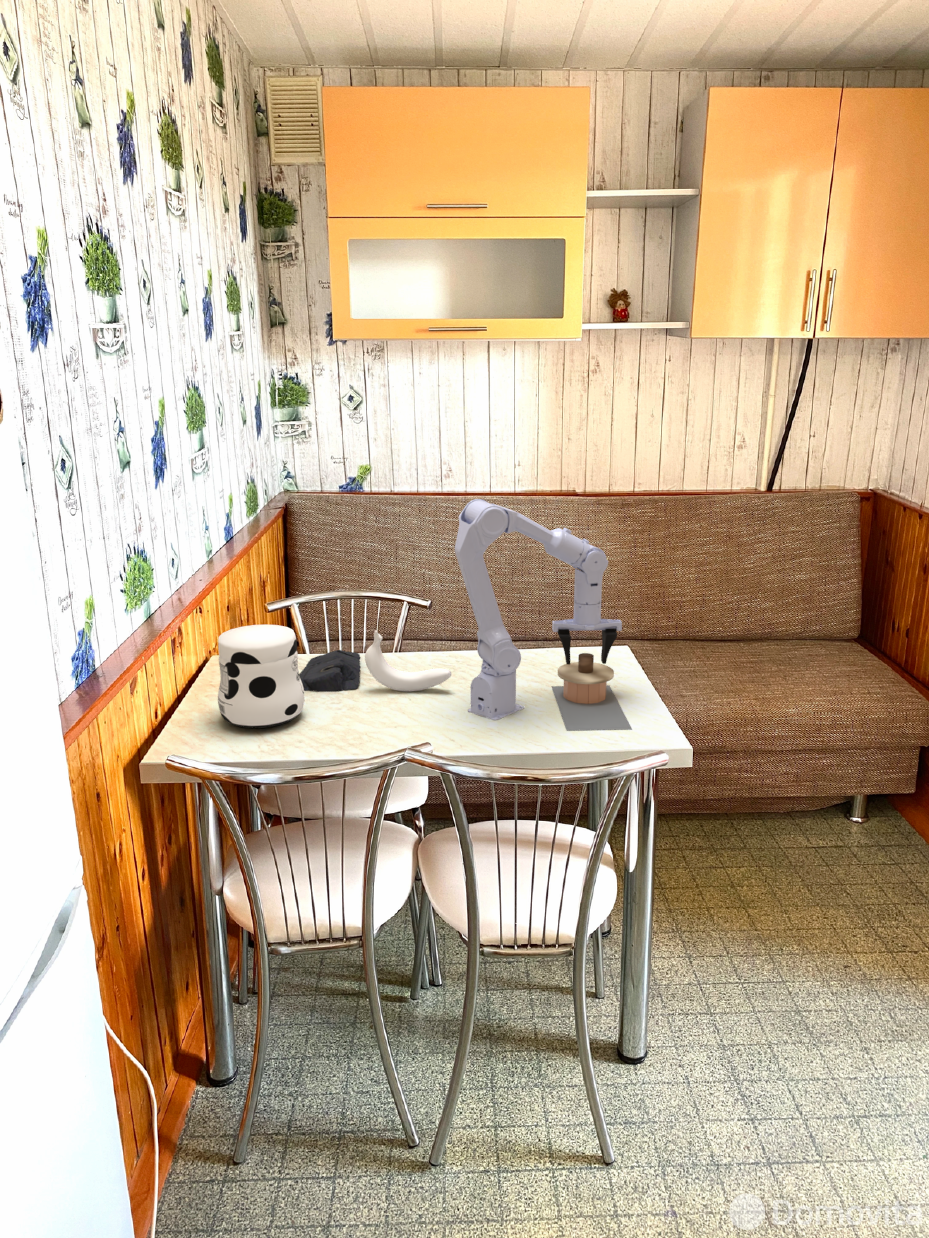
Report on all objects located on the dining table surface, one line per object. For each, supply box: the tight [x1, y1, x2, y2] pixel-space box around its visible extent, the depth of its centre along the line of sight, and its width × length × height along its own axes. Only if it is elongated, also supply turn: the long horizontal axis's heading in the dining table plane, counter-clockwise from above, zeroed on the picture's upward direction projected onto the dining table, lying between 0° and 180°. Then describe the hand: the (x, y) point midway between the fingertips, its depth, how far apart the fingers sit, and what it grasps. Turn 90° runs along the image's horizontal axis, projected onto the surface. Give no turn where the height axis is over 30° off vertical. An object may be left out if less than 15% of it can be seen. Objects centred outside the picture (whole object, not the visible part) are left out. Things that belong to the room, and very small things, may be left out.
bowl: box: [563, 680, 608, 704], centre depth 200 cm, size 9×9×5 cm
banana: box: [364, 630, 452, 692], centre depth 204 cm, size 5×19×15 cm, turn 90°
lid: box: [557, 652, 615, 684], centre depth 199 cm, size 12×12×4 cm
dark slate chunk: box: [299, 649, 362, 693], centre depth 216 cm, size 15×22×5 cm
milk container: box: [217, 624, 305, 729], centre depth 189 cm, size 17×17×18 cm
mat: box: [551, 684, 633, 732], centre depth 195 cm, size 25×13×1 cm, turn 2°
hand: (585, 662), depth 199 cm, fingers open, 7 cm apart
